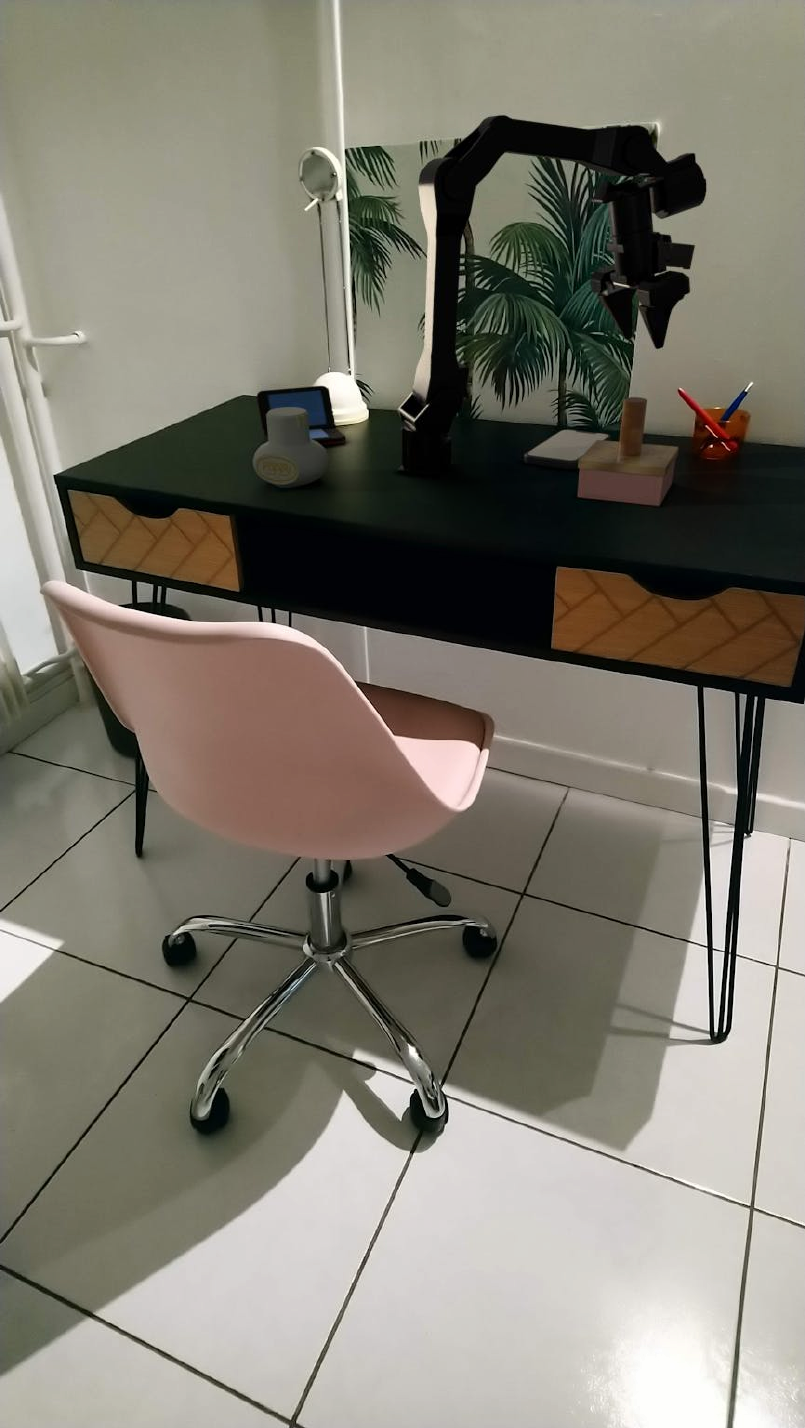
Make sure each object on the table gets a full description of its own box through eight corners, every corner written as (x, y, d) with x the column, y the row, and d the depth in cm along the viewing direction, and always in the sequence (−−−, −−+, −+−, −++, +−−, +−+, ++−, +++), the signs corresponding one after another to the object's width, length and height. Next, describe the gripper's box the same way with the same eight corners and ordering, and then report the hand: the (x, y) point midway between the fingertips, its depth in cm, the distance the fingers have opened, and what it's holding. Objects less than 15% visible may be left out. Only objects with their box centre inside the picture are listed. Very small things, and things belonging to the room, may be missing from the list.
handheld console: (273, 452, 144) (268, 404, 140) (259, 436, 153) (255, 391, 149) (347, 443, 147) (345, 396, 143) (330, 428, 156) (327, 384, 152)
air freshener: (245, 485, 129) (237, 415, 124) (275, 470, 135) (268, 402, 130) (311, 494, 125) (306, 421, 120) (339, 477, 132) (334, 407, 126)
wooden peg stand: (577, 468, 119) (583, 405, 115) (595, 448, 127) (601, 388, 123) (664, 476, 115) (673, 411, 111) (677, 455, 123) (686, 394, 119)
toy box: (577, 497, 122) (579, 468, 119) (594, 476, 129) (597, 448, 127) (659, 506, 118) (663, 476, 116) (671, 484, 125) (675, 455, 123)
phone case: (575, 473, 132) (613, 444, 143) (576, 462, 131) (614, 434, 142) (520, 465, 136) (561, 438, 147) (521, 454, 135) (562, 428, 146)
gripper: (721, 214, 118) (727, 334, 127) (649, 208, 133) (659, 316, 142) (645, 241, 117) (657, 361, 126) (582, 233, 132) (596, 340, 141)
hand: (643, 343), depth 134 cm, fingers open, 9 cm apart
